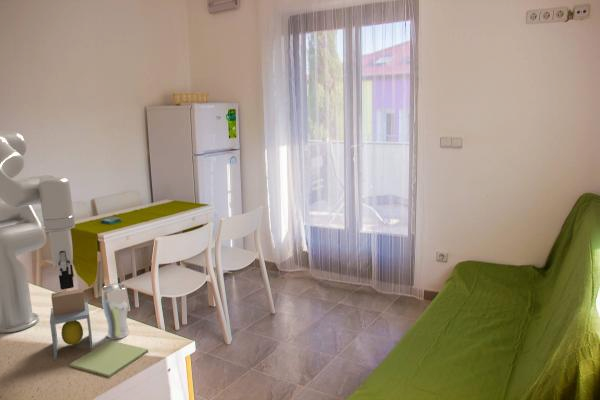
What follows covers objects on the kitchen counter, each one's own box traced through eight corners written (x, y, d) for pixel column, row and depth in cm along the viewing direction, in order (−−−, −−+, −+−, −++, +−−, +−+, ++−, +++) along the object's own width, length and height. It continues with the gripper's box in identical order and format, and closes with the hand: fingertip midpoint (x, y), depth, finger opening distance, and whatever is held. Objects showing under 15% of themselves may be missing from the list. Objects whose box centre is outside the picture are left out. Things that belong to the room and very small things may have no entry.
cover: (55, 341, 141) (48, 290, 138) (91, 334, 145) (85, 284, 142) (54, 357, 132) (47, 302, 129) (93, 349, 136) (86, 295, 133)
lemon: (76, 351, 136) (73, 324, 134) (58, 349, 137) (55, 323, 135) (88, 341, 141) (85, 315, 139) (71, 340, 142) (68, 314, 140)
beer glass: (100, 338, 143) (95, 290, 140) (117, 328, 149) (112, 281, 146) (119, 341, 140) (114, 292, 137) (135, 331, 147) (131, 284, 144)
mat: (70, 365, 128) (69, 363, 128) (110, 342, 140) (110, 340, 140) (109, 377, 122) (109, 375, 122) (148, 351, 134) (148, 349, 134)
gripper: (45, 219, 138) (53, 276, 141) (42, 231, 122) (51, 295, 126) (74, 215, 141) (81, 271, 144) (74, 227, 126) (82, 290, 129)
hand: (67, 282), depth 135 cm, fingers open, 9 cm apart
